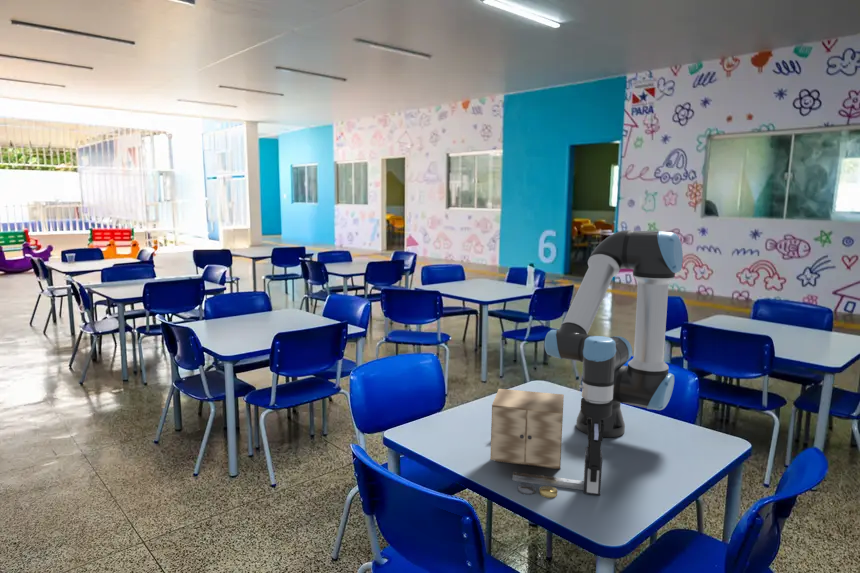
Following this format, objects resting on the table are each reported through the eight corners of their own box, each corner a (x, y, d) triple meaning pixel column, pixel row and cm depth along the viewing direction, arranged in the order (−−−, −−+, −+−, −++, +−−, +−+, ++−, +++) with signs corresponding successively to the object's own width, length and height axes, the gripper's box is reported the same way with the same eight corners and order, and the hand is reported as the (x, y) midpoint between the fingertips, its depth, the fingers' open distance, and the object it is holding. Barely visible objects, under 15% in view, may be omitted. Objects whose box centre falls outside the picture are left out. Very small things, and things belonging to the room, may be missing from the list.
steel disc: (535, 488, 143) (536, 484, 143) (535, 497, 139) (535, 492, 139) (518, 486, 144) (518, 482, 144) (517, 494, 140) (517, 490, 140)
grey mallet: (599, 486, 144) (601, 449, 143) (600, 495, 140) (602, 457, 138) (513, 474, 150) (515, 439, 149) (511, 483, 145) (513, 446, 144)
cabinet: (560, 463, 157) (563, 394, 155) (559, 488, 143) (562, 413, 140) (496, 455, 162) (498, 388, 159) (489, 479, 147) (491, 406, 145)
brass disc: (557, 491, 142) (557, 486, 142) (557, 499, 138) (557, 495, 138) (539, 489, 143) (539, 484, 143) (539, 497, 139) (539, 492, 139)
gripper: (580, 386, 149) (576, 469, 152) (581, 409, 131) (576, 502, 135) (610, 389, 147) (605, 472, 150) (615, 413, 130) (609, 506, 133)
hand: (591, 486), depth 142 cm, fingers open, 5 cm apart
